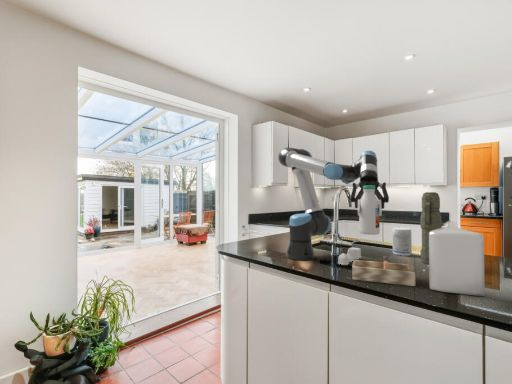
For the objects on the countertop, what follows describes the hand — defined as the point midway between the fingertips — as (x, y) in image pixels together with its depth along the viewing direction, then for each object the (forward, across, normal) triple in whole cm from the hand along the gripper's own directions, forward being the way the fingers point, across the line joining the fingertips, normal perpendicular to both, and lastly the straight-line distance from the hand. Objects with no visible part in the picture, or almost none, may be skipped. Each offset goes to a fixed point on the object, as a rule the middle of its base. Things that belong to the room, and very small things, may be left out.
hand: (369, 213), depth 109 cm
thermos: (-9, -29, -46) cm, 55 cm away
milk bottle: (+4, 0, -9) cm, 10 cm away
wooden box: (+16, -4, -21) cm, 27 cm away
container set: (-1, +9, -40) cm, 41 cm away
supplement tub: (-21, -18, -58) cm, 64 cm away
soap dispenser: (+19, -27, -19) cm, 38 cm away
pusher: (+15, -6, -20) cm, 26 cm away
